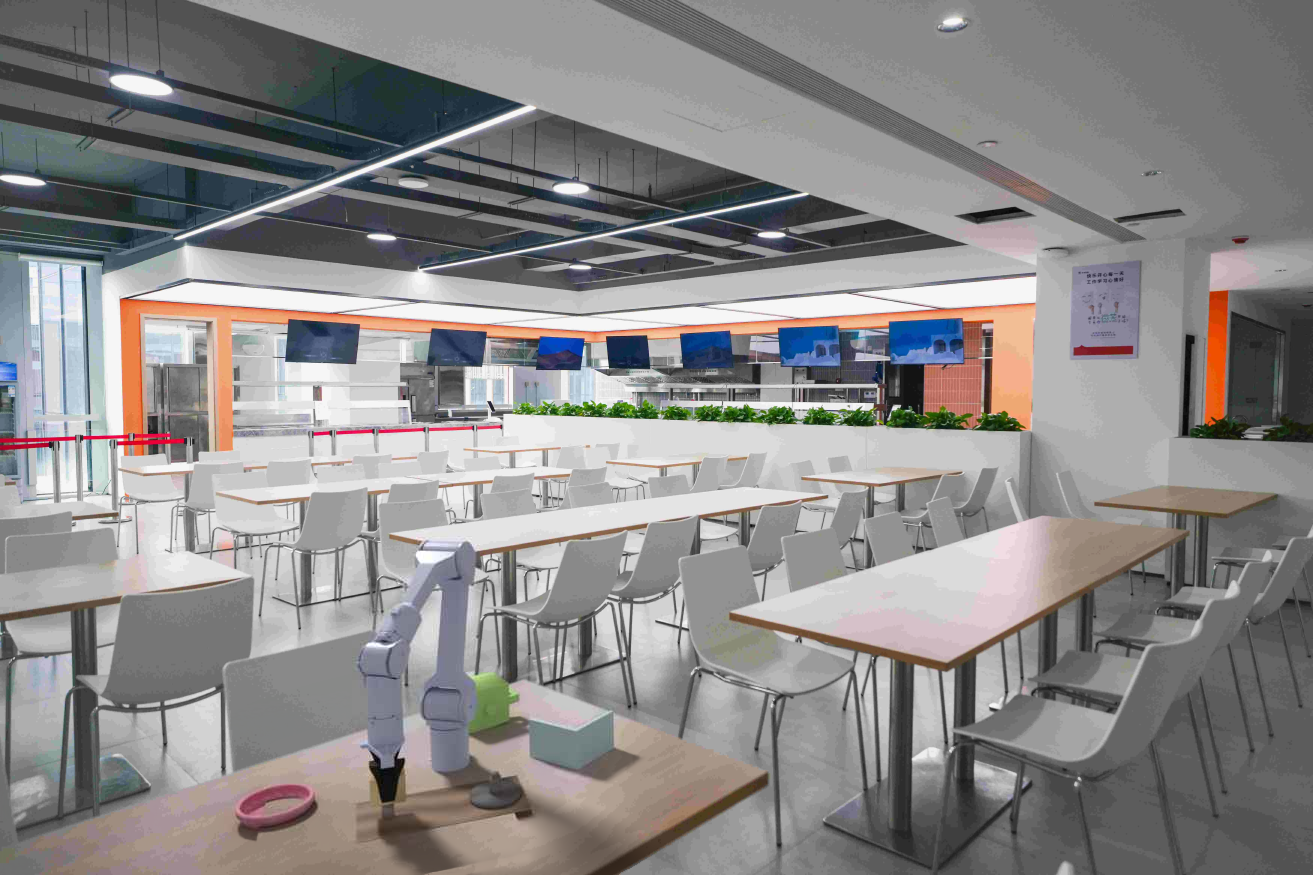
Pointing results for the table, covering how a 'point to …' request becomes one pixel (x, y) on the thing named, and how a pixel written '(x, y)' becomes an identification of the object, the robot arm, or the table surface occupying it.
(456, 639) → the robot arm
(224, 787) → the table surface
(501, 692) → the lime green knobbly part
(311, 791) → the pink ring
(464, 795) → the board
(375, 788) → the collar
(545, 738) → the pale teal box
